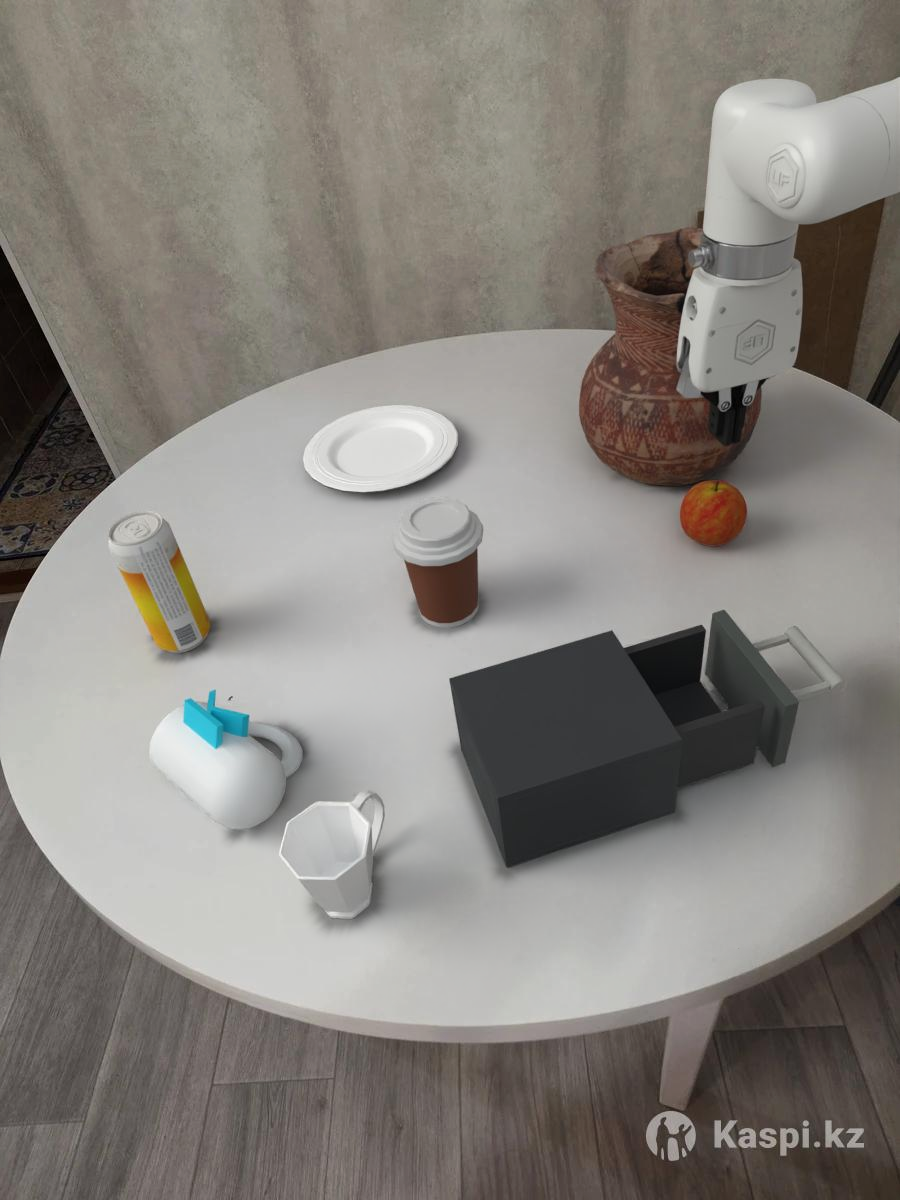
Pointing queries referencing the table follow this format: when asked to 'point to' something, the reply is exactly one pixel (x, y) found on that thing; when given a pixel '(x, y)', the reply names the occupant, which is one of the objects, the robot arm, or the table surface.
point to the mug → (224, 761)
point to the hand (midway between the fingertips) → (724, 437)
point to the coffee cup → (441, 558)
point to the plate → (380, 449)
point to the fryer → (565, 746)
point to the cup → (335, 853)
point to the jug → (651, 371)
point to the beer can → (159, 580)
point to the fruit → (713, 512)
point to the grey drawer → (727, 694)
